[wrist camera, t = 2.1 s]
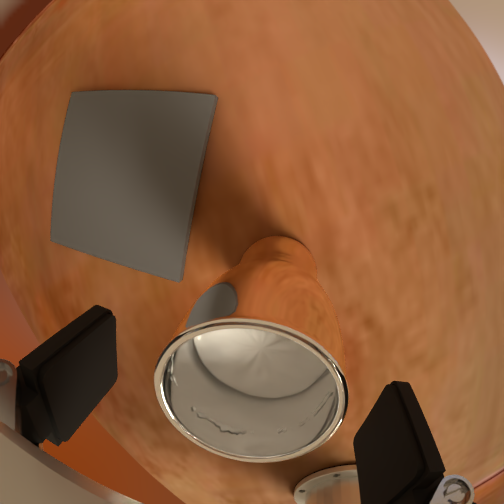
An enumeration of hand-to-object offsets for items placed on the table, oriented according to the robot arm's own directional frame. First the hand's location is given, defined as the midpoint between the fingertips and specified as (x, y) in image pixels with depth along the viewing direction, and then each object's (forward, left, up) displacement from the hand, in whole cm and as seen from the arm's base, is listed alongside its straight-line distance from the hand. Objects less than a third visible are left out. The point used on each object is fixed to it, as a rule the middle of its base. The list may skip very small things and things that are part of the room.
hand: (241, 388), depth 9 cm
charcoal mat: (+15, -4, -15) cm, 21 cm away
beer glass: (0, +1, -15) cm, 15 cm away
